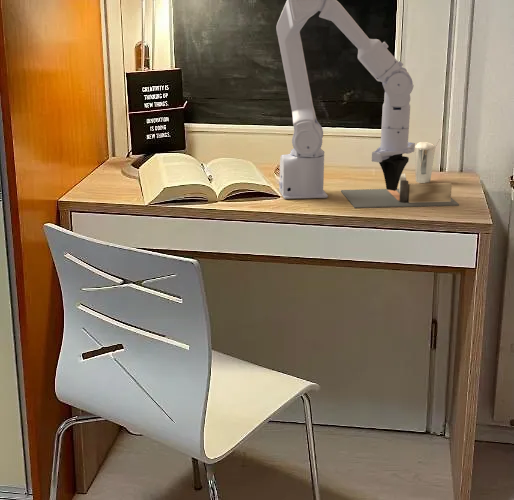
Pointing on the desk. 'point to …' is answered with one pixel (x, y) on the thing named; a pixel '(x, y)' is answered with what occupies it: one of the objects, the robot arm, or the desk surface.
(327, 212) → the desk surface
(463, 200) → the desk surface
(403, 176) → the fence gate
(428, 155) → the milkshake
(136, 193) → the desk surface
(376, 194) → the card
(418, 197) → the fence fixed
